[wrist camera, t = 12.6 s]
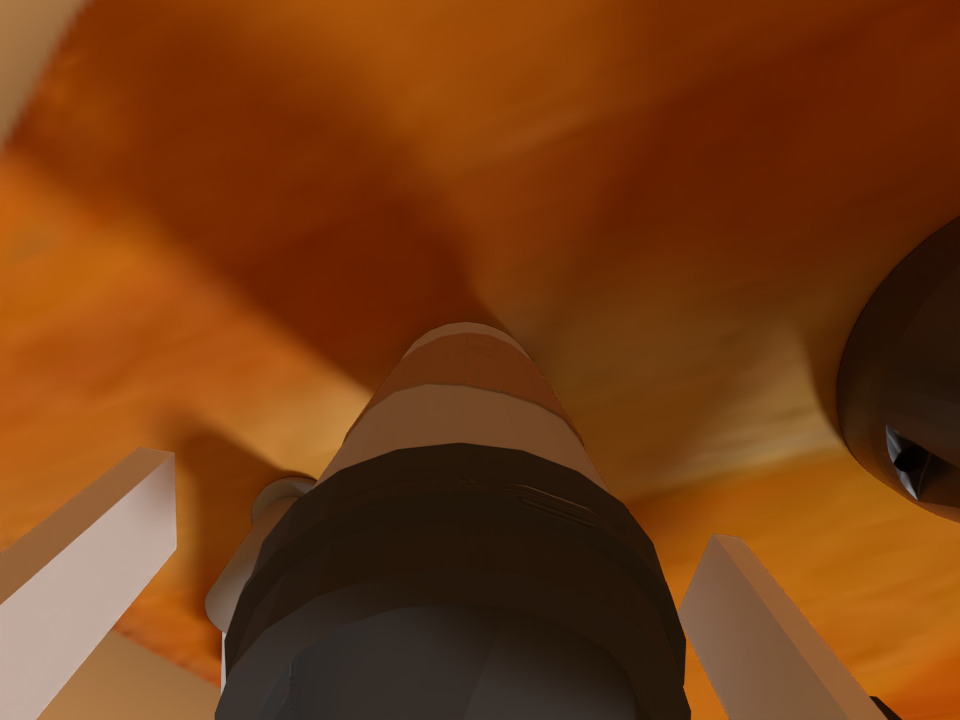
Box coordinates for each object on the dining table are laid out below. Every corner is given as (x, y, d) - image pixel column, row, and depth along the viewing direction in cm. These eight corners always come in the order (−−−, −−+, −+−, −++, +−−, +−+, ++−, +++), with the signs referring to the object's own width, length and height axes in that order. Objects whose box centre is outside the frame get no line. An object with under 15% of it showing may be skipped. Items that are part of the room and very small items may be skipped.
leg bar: (262, 492, 22) (204, 571, 17) (329, 502, 22) (291, 583, 18) (253, 666, 26) (204, 771, 21) (311, 673, 26) (275, 778, 21)
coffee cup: (359, 441, 22) (158, 870, 8) (397, 273, 20) (202, 465, 5) (524, 481, 23) (609, 932, 9) (582, 325, 20) (833, 608, 6)
